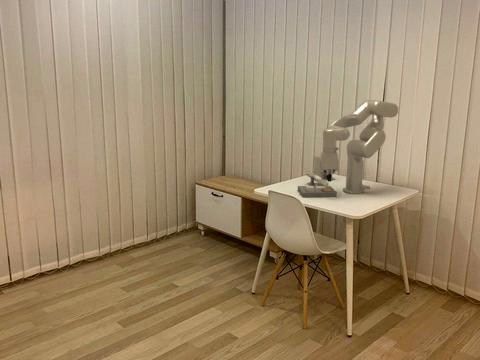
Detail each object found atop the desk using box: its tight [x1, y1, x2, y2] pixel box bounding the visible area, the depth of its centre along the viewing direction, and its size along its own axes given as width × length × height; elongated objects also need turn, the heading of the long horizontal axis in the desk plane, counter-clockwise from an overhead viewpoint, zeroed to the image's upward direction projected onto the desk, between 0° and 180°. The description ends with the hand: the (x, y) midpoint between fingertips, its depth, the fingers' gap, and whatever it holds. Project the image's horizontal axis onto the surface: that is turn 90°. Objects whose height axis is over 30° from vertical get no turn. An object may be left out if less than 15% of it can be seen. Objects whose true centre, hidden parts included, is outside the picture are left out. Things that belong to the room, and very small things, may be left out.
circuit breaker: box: [312, 154, 335, 180], centre depth 319 cm, size 8×14×15 cm, turn 57°
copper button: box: [322, 188, 331, 192], centre depth 277 cm, size 4×4×3 cm
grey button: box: [305, 185, 315, 192], centre depth 276 cm, size 4×4×3 cm
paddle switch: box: [307, 176, 317, 188], centre depth 284 cm, size 4×4×6 cm
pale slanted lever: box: [305, 170, 330, 186], centre depth 303 cm, size 8×6×14 cm
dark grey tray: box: [297, 185, 338, 199], centre depth 281 cm, size 20×16×3 cm
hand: (329, 180), depth 276 cm, fingers closed
